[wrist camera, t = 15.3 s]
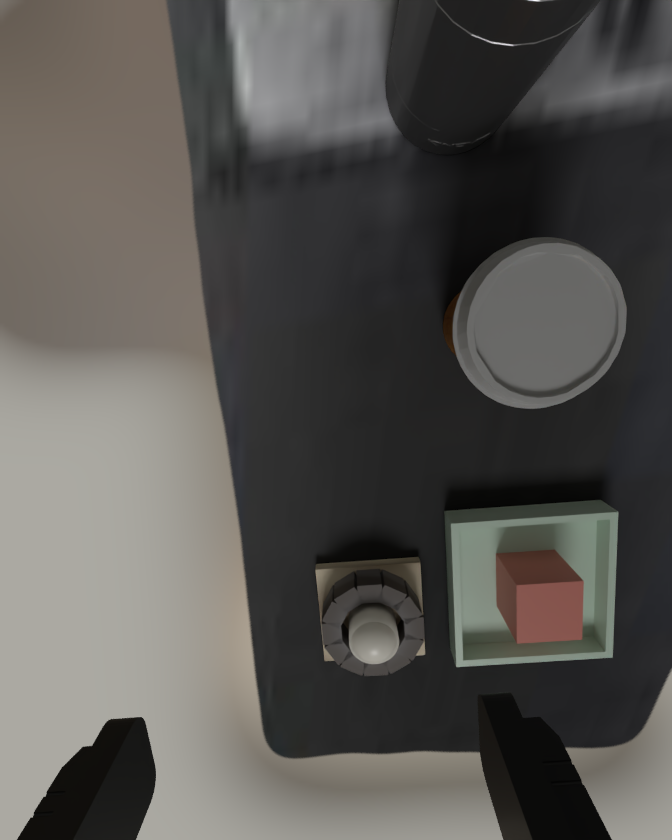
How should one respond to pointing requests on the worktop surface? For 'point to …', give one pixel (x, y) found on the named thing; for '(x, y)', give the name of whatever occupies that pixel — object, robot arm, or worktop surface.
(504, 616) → the cube
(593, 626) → the tray
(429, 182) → the worktop surface
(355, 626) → the dome
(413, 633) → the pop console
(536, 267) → the disposable coffee cup
